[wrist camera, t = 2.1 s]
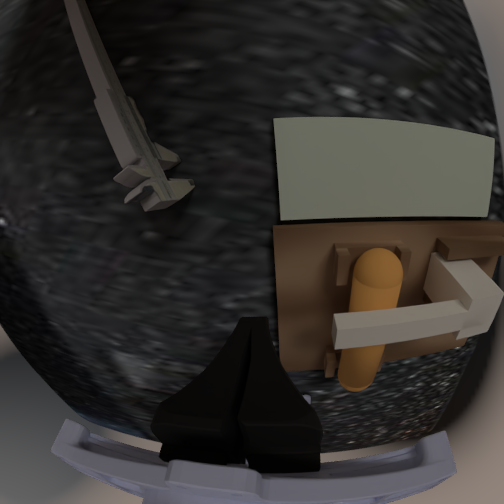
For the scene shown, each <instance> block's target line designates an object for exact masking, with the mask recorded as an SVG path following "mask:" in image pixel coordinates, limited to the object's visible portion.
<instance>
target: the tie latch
mask: <svg viewBox="0 0 504 504" xmlns="http://www.w3.org/2000/svg"><path fill="white" fill-rule="evenodd" d="M423 289H424V291H425V292H426V294H427V295H428V297H429V298H430V300H431V301H432V302H433V303H431V304H424V305H416V306H408V307H400V308H392V309H382V310H373V311H362V312H351V313H338V314H334V316H333V325H332V333H331V334H332V339H333V344H334V349H346V348H356V347H365V346H373V345H381V344H388V343H395V342H402V341H408V340H414V339H419V338H425V337H430V336H435V335H440V334H445V333H450V332H452V334H453V336H454V338H455V339H456V340H457V339H461V338H465V337H469V336H473V335H477V334H480V333H484V332H487V331H488V329H489V327H490V325H491V323H492V321H493V319H494V316H495V314H496V312H497V309H498V307H499V305H500V303H501V300H502V298H503V295H504V293H503V291H502V290H501V289H500V288H499V287H498V286H497V285H496V284H495V283H494V282H493V281H492V279H491V278H490V277H489V276H488V275H487V274H486V273H485V272H484V271H483V270H482V269H481V268H480V267H479V266H478V265H477V264H476V263H475V262H474V261H473V260H472V259H470V258H468V259H456V260H447V259H446V258H445V257H444V256H443V255H442V254H441V253H440V252H432V253H431V258H430V262H429V267H428V271H427V275H426V280H425V284H424V287H423Z"/></svg>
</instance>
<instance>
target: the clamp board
mask: <svg viewBox="0 0 504 504" xmlns="http://www.w3.org/2000/svg"><path fill="white" fill-rule="evenodd" d="M503 236H504V223H503V222H501V221H465V220H445V221H376V222H342V223H316V224H293V225H273V239H274V254H275V271H276V288H277V307H278V328H279V350H280V362H281V364H282V366H283V367H284V369H285V371H301V370H318V369H324V372H325V377H334V373H335V368H339V364H340V359H341V353H342V349H334V344H333V339H332V334H331V333H332V325H333V316H334V314H338V313H348V311H349V304H350V296H351V288H352V279H353V271H354V266H355V264H356V262H357V260H358V258H359V257H360V256H361V255H362V254H363V253H364V252H366V251H368V250H370V249H373V248H384V249H387V250H389V251H391V252H393V253H394V254H395V255H396V256H397V257H398V259H399V260H400V262H401V265H402V268H403V279H402V284H401V289H400V293H399V297H398V302H397V306H396V308H400V307H408V306H416V305H424V304H431V303H433V302H432V301H431V300H430V298H429V297H428V295H427V294H426V292H425V291H424V289H423V287H424V284H425V280H426V275H427V271H428V267H429V262H430V258H431V253H432V252H440V253H441V254H442V255H443V256H444V257H445V258H446V259H447V260H456V259H468V258H470V259H472V260H473V261H474V262H475V263H476V264H477V265H478V266H479V267H480V268H481V269H482V270H483V271H484V272H485V273H486V274H487V275H488V276H489V277H490V278H491V279H492V276H493V272H494V269H495V266H496V263H497V259H498V256H500V255H504V237H503ZM467 338H468V337H465V338H461V339H457V340H456V339H455V338H454V336H453V334H452V332H450V333H445V334H440V335H435V336H430V337H425V338H419V339H414V340H408V341H402V342H395V343H388V344H386V345H385V348H384V351H383V354H382V357H381V360H380V363H379V366H378V369H377V371H380V369H381V366H382V364H383V362H388V361H395V360H400V359H406V358H411V357H417V356H422V355H426V354H431V353H435V352H440V351H444V350H448V349H452V348H456V347H460V346H464V344H465V342H466V340H467Z"/></svg>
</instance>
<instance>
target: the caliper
mask: <svg viewBox="0 0 504 504" xmlns="http://www.w3.org/2000/svg"><path fill="white" fill-rule="evenodd" d="M64 2H65V6H66V10H67V14H68V17H69V21H70V24H71V27H72V31H73V34H74V37H75V40H76V43H77V46H78V49H79V52H80V55H81V58H82V60H83V63H84V66H85V69H86V71H87V74H88V77H89V79H90V82H91V85H92V87H93V90H94V92H95V95H96V97H97V98H96V99H95V100H94V104H95V106H96V109H97V111H98V114H99V116H100V119H101V121H102V124H103V126H104V129H105V131H106V133H107V136H108V138H109V140H110V143H111V145H112V147H113V150H114V152H115V154H116V156H117V158H118V161H119V163H120V165H121V167H122V168H123V170H122V171H121V172H120V173H119V174H117V175H116V176H115V177H114V178H113V179H114V180H115V181H116V182H118V183H120V184H122V185H124V186H126V187H130V188H135V187H136V188H135V189H133V190H132V191H131V192H130V193H129V194H128V195H127V196H126V198H125V203H131V202H137V201H140V203H141V205H142V207H143V209H144V210H145V212H146V211H152V210H159V209H165V208H167V207H169V206H171V205H172V204H174V203H175V202H177V201H178V200H180V199H181V198H183V197H184V196H185V195H186V194H187V193H188V192H190V191H191V190H192V189H193V188H194V187H195V185H194V182H193V179H167V178H166V176H165V174H164V172H163V170H166V169H167V170H170V169H171V168H172V167H174V166H175V165H177V164H178V163H180V162H181V159H180V158H179V156H178V155H177V154H176V153H174V152H172V151H170V150H168V149H166V148H164V147H163V146H161V145H159V144H157V143H155V142H153V141H151V139H150V137H149V135H148V133H147V131H146V130H147V128H146V125H145V121H144V118H143V116H142V114H141V113H140V111H139V110H138V107H137V104H136V101H135V99H134V98H133V97H131V96H128V95H126V94H125V92H124V90H123V87H122V85H121V83H120V81H119V79H118V77H117V74H116V72H115V70H114V68H113V65H112V63H111V61H110V59H109V56H108V54H107V52H106V50H105V47H104V45H103V43H102V40H101V38H100V36H99V33H98V31H97V28H96V26H95V23H94V21H93V18H92V16H91V13H90V11H89V8H88V6H87V3H86V2H85V0H64Z"/></svg>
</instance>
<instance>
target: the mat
mask: <svg viewBox="0 0 504 504" xmlns="http://www.w3.org/2000/svg"><path fill="white" fill-rule="evenodd" d="M273 121H274V132H275V144H276V156H277V170H278V184H279V199H280V215H281V220H298V219H322V218H352V217H400V216H465V217H487V214H488V208H489V202H490V194H491V186H492V177H493V164H494V140H495V138H491V137H487V136H483V135H479V134H475V133H470V132H466V131H461V130H456V129H451V128H445V127H439V126H433V125H427V124H420V123H412V122H404V121H394V120H383V119H369V118H348V117H296V118H275V119H273Z"/></svg>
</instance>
